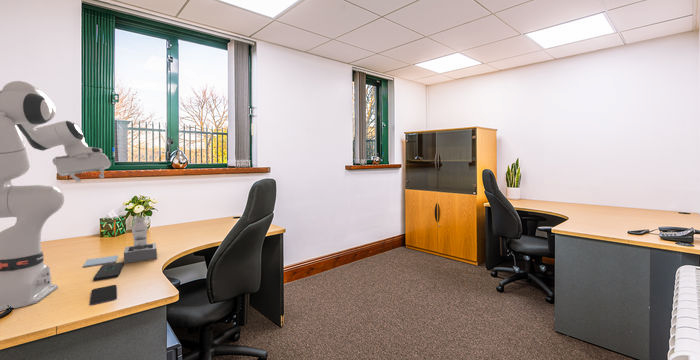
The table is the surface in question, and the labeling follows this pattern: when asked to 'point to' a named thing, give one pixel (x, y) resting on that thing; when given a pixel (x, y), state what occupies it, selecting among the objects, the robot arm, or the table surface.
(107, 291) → the smartphone
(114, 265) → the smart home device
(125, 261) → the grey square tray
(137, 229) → the plastic bottle
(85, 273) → the table surface
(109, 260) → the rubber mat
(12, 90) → the robot arm
